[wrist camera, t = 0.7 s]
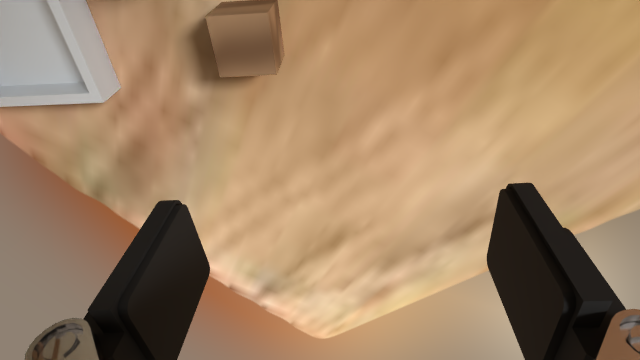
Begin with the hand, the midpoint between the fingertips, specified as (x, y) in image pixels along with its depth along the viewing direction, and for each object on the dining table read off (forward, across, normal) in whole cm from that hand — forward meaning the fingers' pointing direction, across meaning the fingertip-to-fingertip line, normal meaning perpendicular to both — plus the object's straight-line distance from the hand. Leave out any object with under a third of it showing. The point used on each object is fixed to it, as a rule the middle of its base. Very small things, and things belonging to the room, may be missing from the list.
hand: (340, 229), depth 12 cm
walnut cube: (+28, +8, 0) cm, 29 cm away
